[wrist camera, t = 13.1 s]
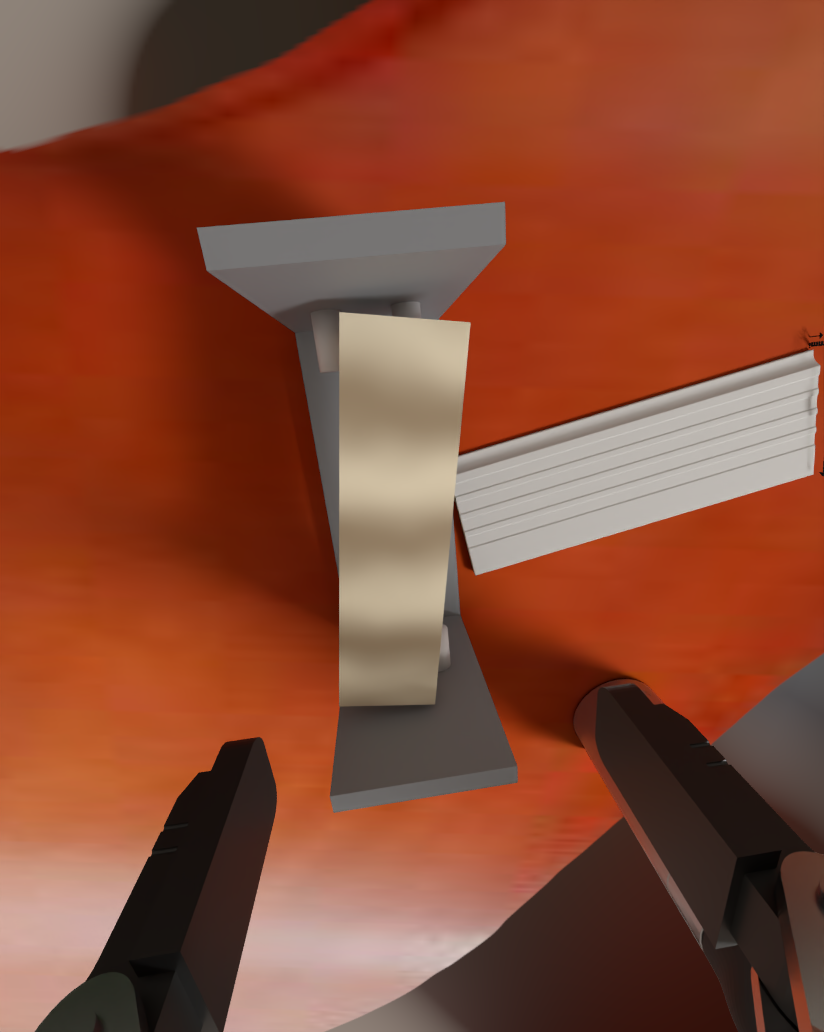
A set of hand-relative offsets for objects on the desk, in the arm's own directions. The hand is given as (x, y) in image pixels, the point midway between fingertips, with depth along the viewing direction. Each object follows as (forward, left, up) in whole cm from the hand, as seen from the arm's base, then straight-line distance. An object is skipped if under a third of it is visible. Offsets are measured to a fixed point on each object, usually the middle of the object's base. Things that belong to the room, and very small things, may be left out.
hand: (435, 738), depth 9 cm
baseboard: (0, -20, -25) cm, 32 cm away
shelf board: (0, 0, -16) cm, 16 cm away
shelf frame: (0, 0, -24) cm, 24 cm away
